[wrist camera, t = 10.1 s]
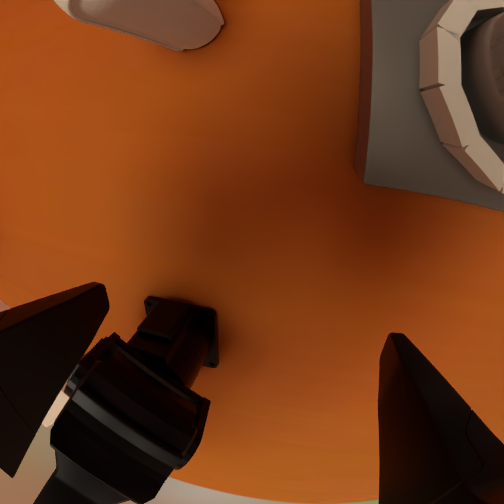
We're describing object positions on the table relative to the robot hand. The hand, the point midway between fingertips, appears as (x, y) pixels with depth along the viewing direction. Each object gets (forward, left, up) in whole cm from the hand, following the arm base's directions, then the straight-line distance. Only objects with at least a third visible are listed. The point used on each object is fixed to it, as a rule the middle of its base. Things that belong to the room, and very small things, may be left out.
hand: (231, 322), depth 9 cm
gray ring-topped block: (+9, -11, -12) cm, 19 cm away
